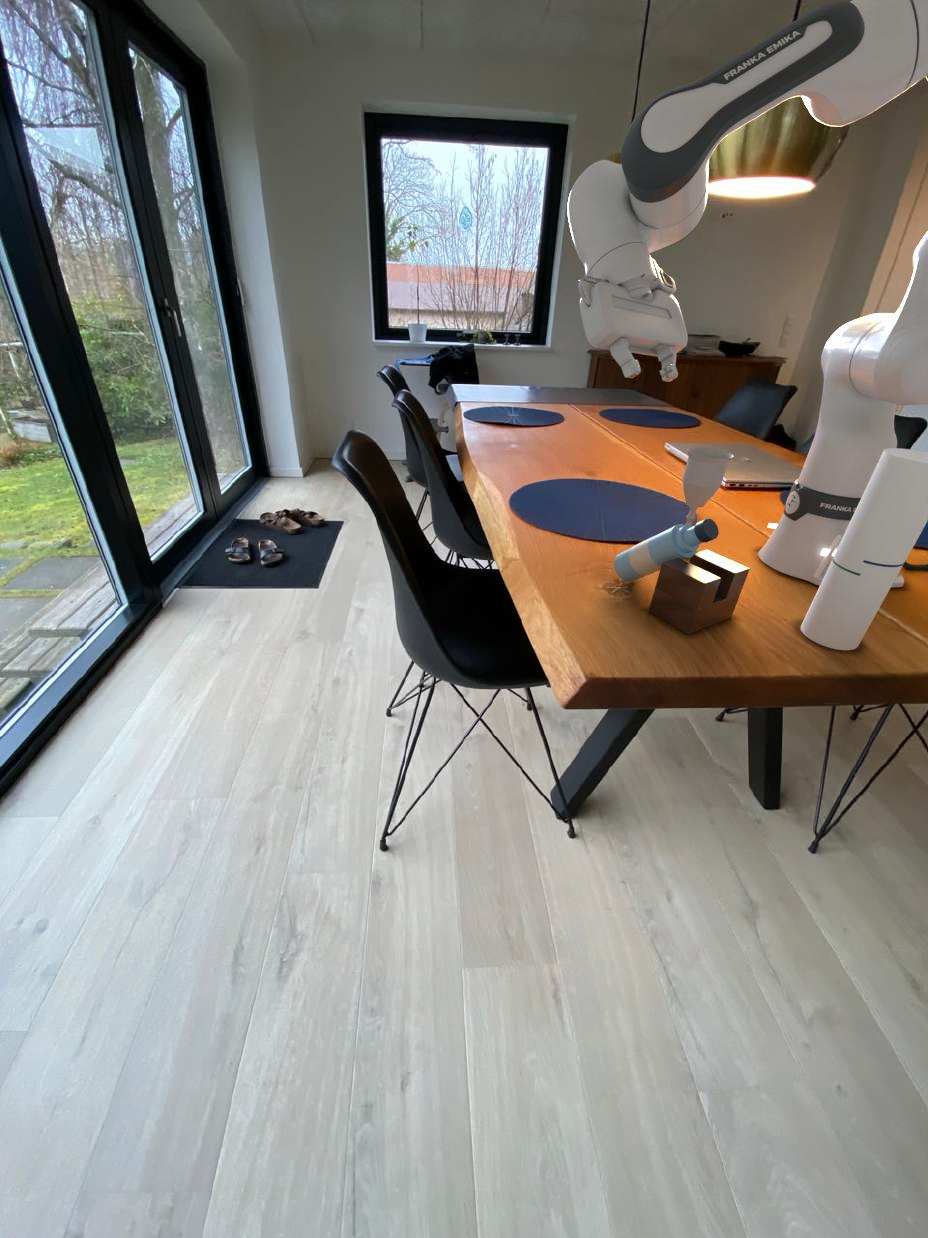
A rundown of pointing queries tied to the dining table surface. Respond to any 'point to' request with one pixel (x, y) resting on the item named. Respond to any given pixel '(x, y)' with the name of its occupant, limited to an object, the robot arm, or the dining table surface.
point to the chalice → (703, 477)
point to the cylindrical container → (871, 550)
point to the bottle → (663, 549)
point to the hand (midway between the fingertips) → (652, 377)
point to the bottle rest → (697, 591)
